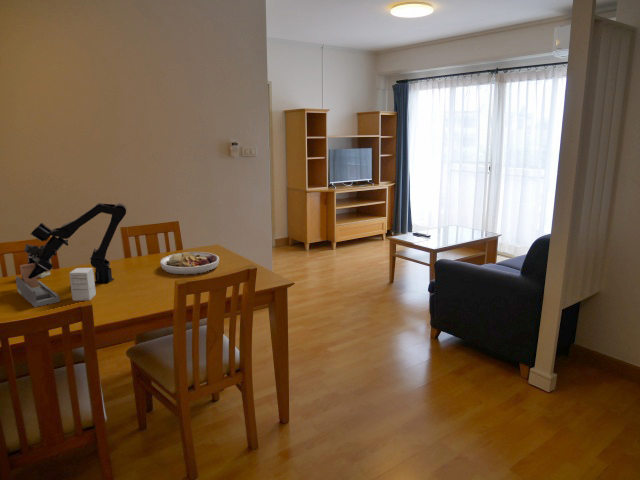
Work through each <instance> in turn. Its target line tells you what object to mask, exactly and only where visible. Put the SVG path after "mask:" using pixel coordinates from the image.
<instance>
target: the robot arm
mask: <svg viewBox="0 0 640 480" xmlns="http://www.w3.org/2000/svg"><path fill="white" fill-rule="evenodd" d="M101 213H102V214H106V215H107V214H108V215H111V217H110V222H109V224H108V226H107V228H106V231H105V233H104V235H103V237H102V240H101V243H100V244H99V247H97V249H96V248H93V251H92V254H91V255H90V257H89V260H90V265H91V266H92V268H93V269H95V272H94V282H95V284H109V283H110V282H113V280H114V279H115V278H114V277H113V274H112V268H111V267H110V265H111V262H110V261H109V260H108V259H106V256H107V251H108V249H109V246H110V244H111V242H112V239H113V237H114V235H115V234H116V230H117V228H118V225H119V224H120V223H121V221H122V220H123V219H124V217H126V214H127V206H126V205H125V204H123V203H116V204H113V203H103V202H99V203H97V204H95V206H93V207H92V208H90V209H89V210H87V211H86V212H85V213H83V214H81V215H80V216H78V217H77V218H76V219H73V220H71V221H69V222H66V223H64V224H62V225H61V226H60V227H56V228H53V229H51V228H50V227H48V226H47V225H45V224H44V223H43V222H41V223H39V225H38V226H37V227H35V228H34V229H33V231H31V233H30V235H31V236H32V237H33V238H36V239H37V240H39V241H40V242H46V243H45V244H43V245H42V244H41V245H40V246H38V245H34V244H33V245H31V244H28V243H26V244H25V247H24V250H23V251H24V252H25V253H26V254H27V260H28V261H27V264H31V263H33V264H34V265H35V267H34V269H33V270H32V272H31V273H30V275H29V277H28V278H29V279H31V278H33V277H35V276H37V275H39V274H41V273H44V272H46V271H48V270H50V271H51V270H52V269H53V267H54V266H53V263H51V261H50V260H51V259H52V258H53V257H54V256H57V252H58V251H59V250H60V249H61V248H62V246H64V245H65V246H67V247H68V246H69V238H71V236H73V235H74V234H75V233H76V232H77V231H78V230H79V229H80V228H81V227H82V226H83V225H85V224H86V223H87V222H89V221H91V220H92V219H94V218H96V217H97V216H98V215H99V214H101ZM48 239H49V240H48ZM47 240H48V241H47ZM47 269H48V270H47Z"/></svg>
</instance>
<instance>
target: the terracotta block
mask: <svg viewBox="0 0 640 480" xmlns="http://www.w3.org/2000/svg"><path fill="white" fill-rule="evenodd" d="M34 267H35V265H34V264H33V263H31V264H21V265H19V269H20V273H21V274H20V276H21V279H22V280H23V281H24V282H25V283H27V284H28V285H29V286H30V287H31V288H36V287H39V285H38V281H39V279H38V278H37V276H35V277H33V278H31V279H29V278H28V277H29V275H30V273H31V272H32V270H33V269H34Z"/></svg>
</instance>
